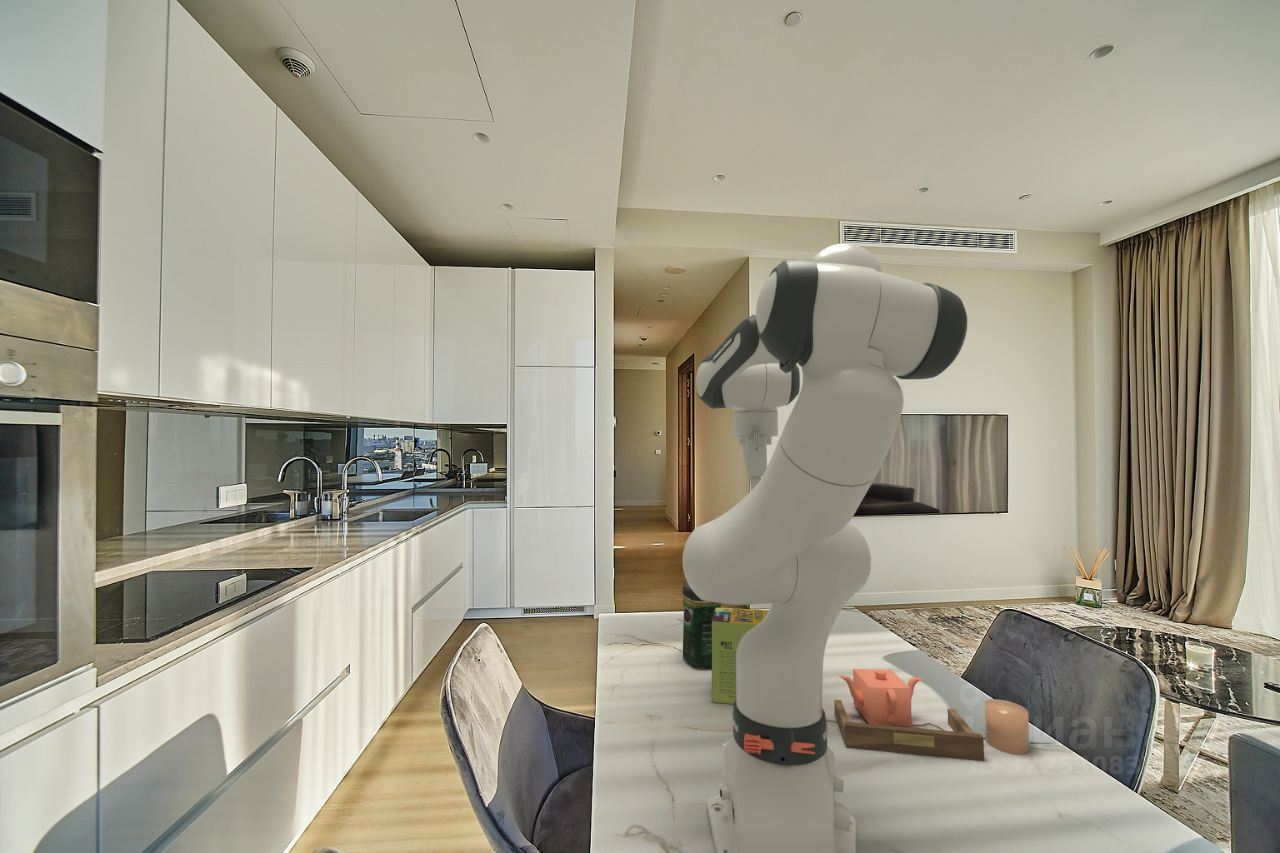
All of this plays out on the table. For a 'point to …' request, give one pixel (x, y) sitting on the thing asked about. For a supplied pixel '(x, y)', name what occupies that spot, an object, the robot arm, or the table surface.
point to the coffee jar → (697, 629)
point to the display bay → (912, 737)
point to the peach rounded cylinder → (1007, 726)
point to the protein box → (729, 648)
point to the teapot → (882, 696)
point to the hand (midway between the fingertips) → (755, 497)
